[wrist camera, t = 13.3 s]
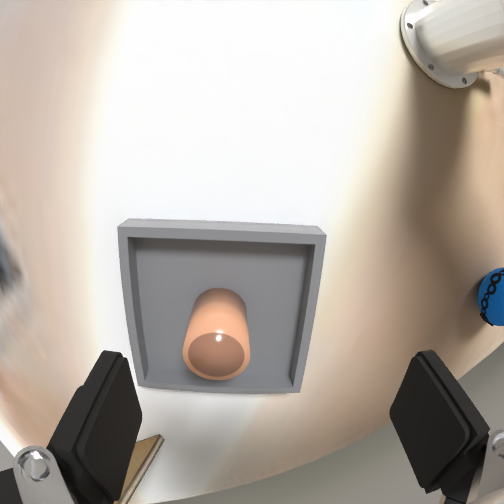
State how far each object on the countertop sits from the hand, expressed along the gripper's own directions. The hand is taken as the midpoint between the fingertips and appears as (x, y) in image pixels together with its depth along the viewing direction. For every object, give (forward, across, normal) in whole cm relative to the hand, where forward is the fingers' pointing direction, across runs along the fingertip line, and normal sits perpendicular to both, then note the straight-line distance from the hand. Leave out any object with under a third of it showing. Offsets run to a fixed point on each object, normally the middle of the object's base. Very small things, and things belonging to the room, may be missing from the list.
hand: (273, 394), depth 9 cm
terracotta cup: (+23, +3, +11) cm, 25 cm away
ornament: (+25, -36, +8) cm, 44 cm away
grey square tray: (+24, +3, +11) cm, 26 cm away
